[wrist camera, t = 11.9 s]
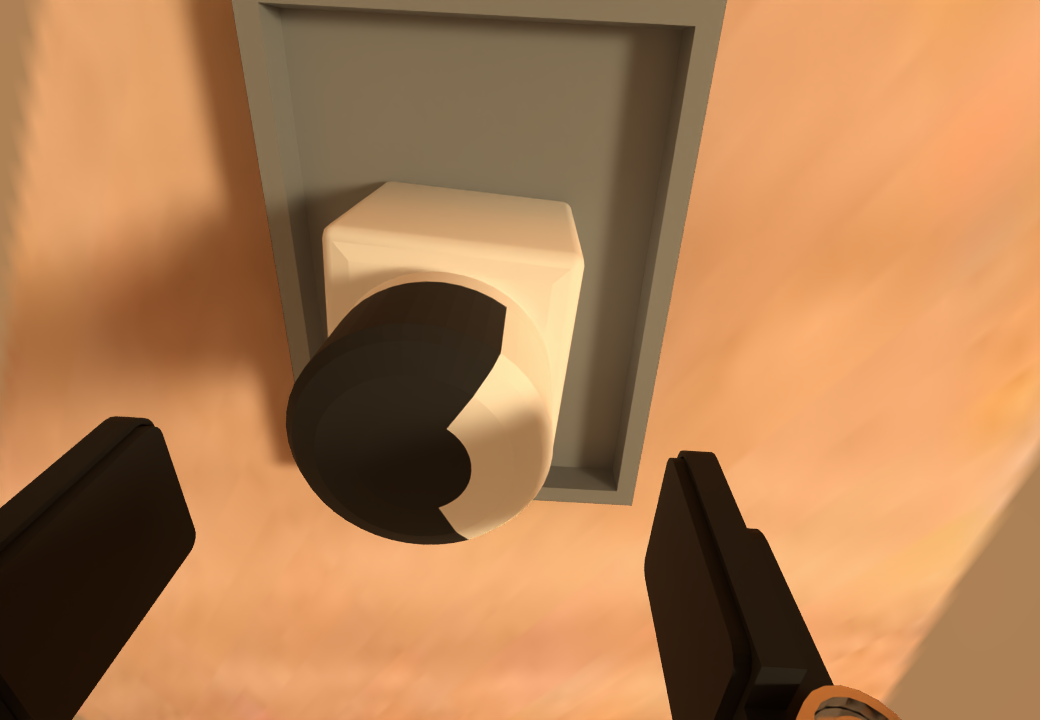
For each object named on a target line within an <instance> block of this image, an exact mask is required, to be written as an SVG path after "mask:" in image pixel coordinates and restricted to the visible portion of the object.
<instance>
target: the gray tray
mask: <svg viewBox="0 0 1040 720" xmlns="http://www.w3.org/2000/svg"><path fill="white" fill-rule="evenodd" d="M231 1H232V7H233V13H234V19H235V25H236V31H237V37H238V43H239V49H240V55H241V61H242V67H243V73H244V79H245V85H246V91H247V97H248V103H249V109H250V115H251V121H252V127H253V133H254V139H255V145H256V151H257V158H258V164H259V170H260V176H261V182H262V188H263V194H264V200H265V206H266V212H267V218H268V224H269V230H270V236H271V242H272V248H273V254H274V260H275V266H276V272H277V278H278V284H279V290H280V296H281V302H282V308H283V314H284V320H285V326H286V333H287V339H288V345H289V351H290V357H291V363H292V369H293V375H294V381H295V382H296V380H297V378H298V377H299V375H300V374H301V372H302V370H303V369H304V367H305V366H306V365H307V364H308V362H309V361H310V360H311V359H312V357H313V356H314V355H315V353H316V352H317V351H318V350H319V348H320V347H321V346H322V345H323V343H324V342H325V341H326V340H327V338H328V329H327V312H326V295H325V277H324V260H323V243H322V236H323V232H324V229H325V228H326V227H327V226H328V225H329V224H330V223H332V222H333V221H334V220H336V219H337V218H339V217H340V216H341V215H343V214H344V213H345V212H347V211H348V210H350V209H351V208H352V207H354V206H355V205H356V204H358V203H359V202H360V201H362V200H363V199H365V198H366V197H367V196H369V195H370V194H371V193H373V192H374V191H376V190H377V189H378V188H380V187H381V186H382V185H384V184H385V183H386V182H391V181H394V182H402V183H410V184H419V185H427V186H435V187H444V188H452V189H460V190H469V191H477V192H485V193H494V194H502V195H510V196H519V197H527V198H535V199H544V200H552V201H560V202H565V203H567V204H568V205H569V206H570V207H571V211H572V215H573V219H574V223H575V227H576V231H577V235H578V239H579V243H580V247H581V251H582V255H583V259H584V271H583V277H582V282H581V288H580V294H579V300H578V306H577V311H576V317H575V323H574V329H573V335H572V340H571V346H570V352H569V358H568V364H567V369H566V375H565V381H564V387H563V392H562V398H561V404H560V410H559V416H558V421H557V427H556V433H555V439H554V445H553V456H552V460H551V465H550V470H549V472H548V475H547V477H546V480H545V482H544V484H543V486H542V487H541V489H540V491H539V492H538V494H537V496H536V497H535V498H534V499H533V500H541V501H559V502H577V503H594V504H612V505H630V506H632V501H633V496H634V491H635V485H636V480H637V475H638V470H639V464H640V459H641V454H642V448H643V443H644V438H645V432H646V427H647V422H648V417H649V411H650V406H651V401H652V395H653V390H654V385H655V379H656V374H657V369H658V364H659V358H660V353H661V348H662V342H663V337H664V332H665V326H666V321H667V316H668V311H669V305H670V300H671V295H672V289H673V284H674V279H675V273H676V268H677V263H678V258H679V252H680V247H681V242H682V236H683V231H684V226H685V220H686V215H687V210H688V205H689V199H690V194H691V189H692V183H693V178H694V173H695V167H696V162H697V157H698V151H699V146H700V141H701V136H702V130H703V125H704V120H705V114H706V109H707V104H708V98H709V93H710V88H711V83H712V77H713V72H714V67H715V61H716V56H717V51H718V45H719V40H720V35H721V30H722V24H723V19H724V14H725V8H726V3H727V0H231Z"/></svg>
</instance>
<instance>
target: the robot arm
mask: <svg viewBox="0 0 1040 720" xmlns="http://www.w3.org/2000/svg"><path fill="white" fill-rule="evenodd" d="M195 538H196V532H195V528H194V525H193V522H192V519H191V516H190V513H189V510H188V507H187V504H186V502H185V499H184V496H183V493H182V490H181V487H180V484H179V481H178V478H177V475H176V472H175V469H174V466H173V463H172V460H171V457H170V454H169V451H168V448H167V445H166V442H165V440H164V437H163V434H162V432H161V430H160V429H159V428H158V427H155V426H154V424H153V422H151V421H150V420H149V419H146V418H135V417H118V416H115V417H110V418H108V419H106V420H105V421H103V422H102V423H101V424H100V425H99V426H98V427H96V428H95V429H94V430H93V431H92V432H90V433H89V434H88V435H87V436H86V437H84V438H83V439H82V440H81V441H80V442H78V443H77V444H76V445H75V446H74V447H73V448H71V449H70V450H69V451H68V452H67V453H65V454H64V455H63V456H62V457H61V458H59V459H58V460H57V461H56V462H55V463H53V464H52V465H51V466H50V467H49V468H48V469H46V470H45V471H44V472H43V473H42V474H40V475H39V476H38V477H37V478H36V479H34V480H33V481H32V482H31V483H30V484H28V485H27V486H26V487H25V488H24V489H23V490H21V491H20V492H19V493H18V494H17V495H15V496H14V497H13V498H12V499H11V500H9V501H8V502H7V503H6V504H5V505H3V506H2V507H1V508H0V720H72V719H73V717H74V716H75V715H76V713H77V712H78V710H79V709H80V707H81V706H82V705H83V703H84V702H85V700H86V699H87V698H88V696H89V695H90V693H91V692H92V690H93V689H94V688H95V686H96V685H97V683H98V682H99V681H100V679H101V678H102V676H103V675H104V673H105V672H106V671H107V669H108V668H109V666H110V665H111V664H112V662H113V661H114V659H115V658H116V656H117V655H118V654H119V652H120V651H121V649H122V648H123V647H124V645H125V644H126V642H127V641H128V639H129V638H130V637H131V635H132V634H133V632H134V631H135V630H136V628H137V627H138V625H139V624H140V622H141V621H142V620H143V618H144V617H145V615H146V614H147V613H148V611H149V610H150V608H151V607H152V605H153V604H154V603H155V601H156V600H157V598H158V597H159V596H160V594H161V593H162V591H163V590H164V588H165V587H166V586H167V584H168V583H169V581H170V580H171V579H172V577H173V576H174V574H175V573H176V571H177V570H178V569H179V567H180V566H181V564H182V563H183V562H184V560H185V559H186V557H187V556H188V554H189V553H190V551H191V550H192V548H193V545H194V543H195ZM644 572H645V581H646V586H647V591H648V596H649V601H650V606H651V612H652V617H653V622H654V627H655V632H656V637H657V642H658V647H659V653H660V658H661V663H662V668H663V673H664V678H665V683H666V688H667V694H668V699H669V704H670V709H671V714H672V719H673V720H901V719H900V718H899V717H898V715H897V714H895V713H894V712H893V711H892V710H890V709H889V708H888V707H886V706H885V705H884V704H882V703H881V702H880V701H879V700H877V699H875V698H873V697H871V696H869V695H867V694H865V693H863V692H861V691H859V690H856V689H852V688H849V687H845V686H841V685H833V683H832V680H831V678H830V676H829V674H828V672H827V670H826V667H825V665H824V663H823V661H822V659H821V657H820V654H819V652H818V650H817V648H816V646H815V644H814V641H813V639H812V637H811V635H810V633H809V631H808V628H807V626H806V624H805V622H804V620H803V617H802V615H801V613H800V611H799V609H798V607H797V604H796V602H795V600H794V598H793V596H792V594H791V591H790V589H789V587H788V585H787V583H786V581H785V578H784V576H783V574H782V572H781V570H780V568H779V565H778V563H777V561H776V559H775V557H774V554H773V552H772V550H771V548H770V546H769V544H768V541H767V540H766V538H765V536H764V535H763V533H762V532H761V531H759V530H758V529H749V528H747V527H746V525H745V523H744V520H743V518H742V516H741V513H740V511H739V509H738V506H737V504H736V502H735V499H734V497H733V495H732V492H731V490H730V488H729V485H728V483H727V481H726V478H725V476H724V474H723V471H722V469H721V467H720V464H719V462H718V460H717V457H716V456H715V454H714V453H712V452H699V451H680V453H679V454H678V457H677V458H669V460H668V462H667V465H666V470H665V474H664V478H663V483H662V487H661V491H660V496H659V500H658V504H657V509H656V513H655V517H654V522H653V526H652V530H651V535H650V539H649V544H648V548H647V552H646V557H645V564H644Z"/></svg>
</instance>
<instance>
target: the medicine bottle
mask: <svg viewBox="0 0 1040 720" xmlns="http://www.w3.org/2000/svg"><path fill="white" fill-rule="evenodd" d="M322 243H323V260H324V277H325V295H326V312H327V329H328V338H327V340H326V341H325V342H324V343H323V345H322V346H321V347H320V348H319V350H318V351H317V352H316V353H315V355H314V356H313V357H312V359H311V360H310V361H309V362H308V364H307V365H306V366H305V367H304V369H303V370H302V372H301V374H300V375H299V377H298V378H297V380H296V382H295V384H294V387H293V389H292V392H291V394H290V397H289V402H288V407H287V414H286V429H287V435H288V442H289V445H290V448H291V452H292V455H293V458H294V460H295V462H296V464H297V466H298V468H299V470H300V472H301V473H302V475H303V476H304V478H305V479H306V481H307V482H308V484H309V485H310V487H311V488H312V490H313V491H314V492H315V493H316V494H317V496H318V497H319V498H320V499H321V500H322V501H323V502H324V503H325V504H326V505H327V506H328V507H330V508H331V509H332V510H333V511H334V512H335V513H337V514H338V515H340V516H341V517H342V518H344V519H345V520H347V521H348V522H350V523H352V524H354V525H356V526H357V527H359V528H361V529H363V530H366V531H368V532H370V533H373V534H375V535H378V536H381V537H384V538H387V539H391V540H395V541H400V542H405V543H413V544H448V543H455V542H460V541H465V540H469V539H472V538H475V537H478V536H481V535H484V534H486V533H488V532H490V531H492V530H494V529H496V528H498V527H500V526H502V525H504V524H505V523H507V522H508V521H510V520H511V519H513V518H514V517H516V516H517V515H518V514H519V513H520V512H522V511H523V510H524V509H525V508H526V507H527V506H528V505H529V504H530V503H531V501H532V500H533V499H534V498H535V497H536V496H537V494H538V492H539V491H540V489H541V487H542V486H543V484H544V482H545V480H546V477H547V475H548V472H549V470H550V465H551V460H552V456H553V445H554V439H555V433H556V427H557V421H558V416H559V410H560V404H561V398H562V392H563V387H564V381H565V375H566V369H567V364H568V358H569V352H570V346H571V340H572V335H573V329H574V323H575V317H576V311H577V306H578V300H579V294H580V288H581V282H582V277H583V271H584V259H583V255H582V251H581V247H580V243H579V239H578V235H577V231H576V227H575V223H574V219H573V215H572V211H571V207H570V206H569V205H568V204H567V203H565V202H560V201H552V200H544V199H535V198H527V197H519V196H510V195H502V194H494V193H485V192H477V191H469V190H460V189H452V188H444V187H435V186H427V185H419V184H410V183H402V182H394V181H391V182H386V183H385V184H384V185H382V186H381V187H380V188H378V189H377V190H376V191H374V192H373V193H371V194H370V195H369V196H367V197H366V198H365V199H363V200H362V201H360V202H359V203H358V204H356V205H355V206H354V207H352V208H351V209H350V210H348V211H347V212H345V213H344V214H343V215H341V216H340V217H339V218H337V219H336V220H334V221H333V222H332V223H330V224H329V225H328V226H327V227H326V228H325V229H324V232H323V236H322Z"/></svg>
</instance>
